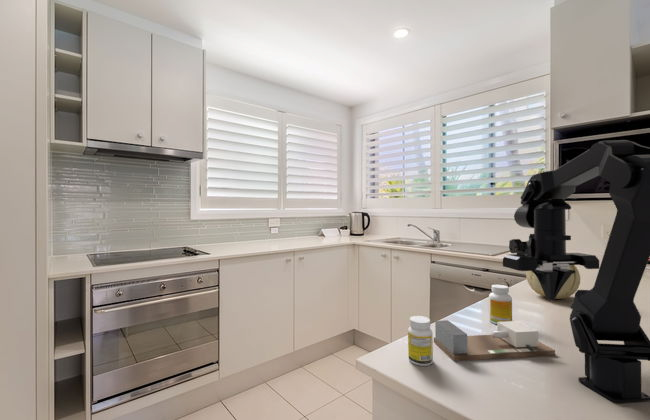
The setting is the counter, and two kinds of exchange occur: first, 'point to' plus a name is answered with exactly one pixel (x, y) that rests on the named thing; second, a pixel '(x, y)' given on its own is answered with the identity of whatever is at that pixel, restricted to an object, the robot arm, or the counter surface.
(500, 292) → the supplement bottle
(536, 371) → the counter surface
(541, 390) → the counter surface
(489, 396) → the counter surface
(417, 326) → the supplement bottle
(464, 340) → the gray concrete brick
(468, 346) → the base
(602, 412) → the counter surface
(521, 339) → the gauge carriage
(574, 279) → the cantaloupe
